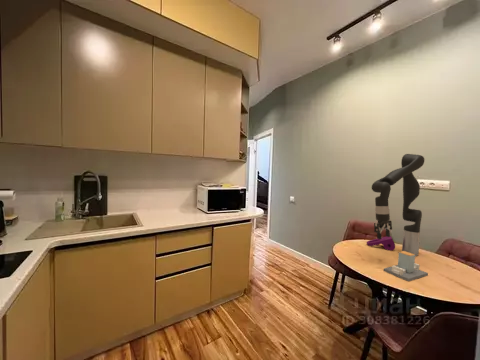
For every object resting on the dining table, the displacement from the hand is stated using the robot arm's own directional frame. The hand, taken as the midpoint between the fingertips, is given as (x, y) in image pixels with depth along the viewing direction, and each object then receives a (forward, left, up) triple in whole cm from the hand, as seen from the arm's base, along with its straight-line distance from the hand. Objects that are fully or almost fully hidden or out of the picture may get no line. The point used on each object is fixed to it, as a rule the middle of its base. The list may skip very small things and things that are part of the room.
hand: (383, 237), depth 139 cm
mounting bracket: (-27, -25, -17) cm, 41 cm away
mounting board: (-1, +14, -17) cm, 22 cm away
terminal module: (-1, +14, -15) cm, 21 cm away
